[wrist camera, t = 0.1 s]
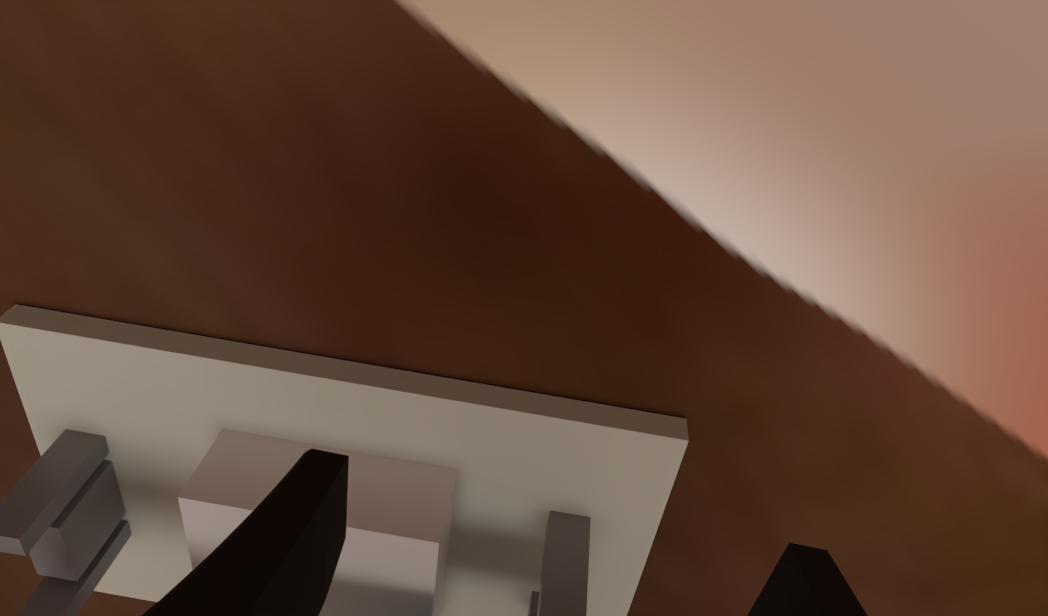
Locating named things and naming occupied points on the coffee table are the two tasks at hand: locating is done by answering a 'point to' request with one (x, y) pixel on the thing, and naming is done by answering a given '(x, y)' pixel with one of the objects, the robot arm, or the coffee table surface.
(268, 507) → the robot arm
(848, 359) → the coffee table surface
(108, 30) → the coffee table surface
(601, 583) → the socket board
